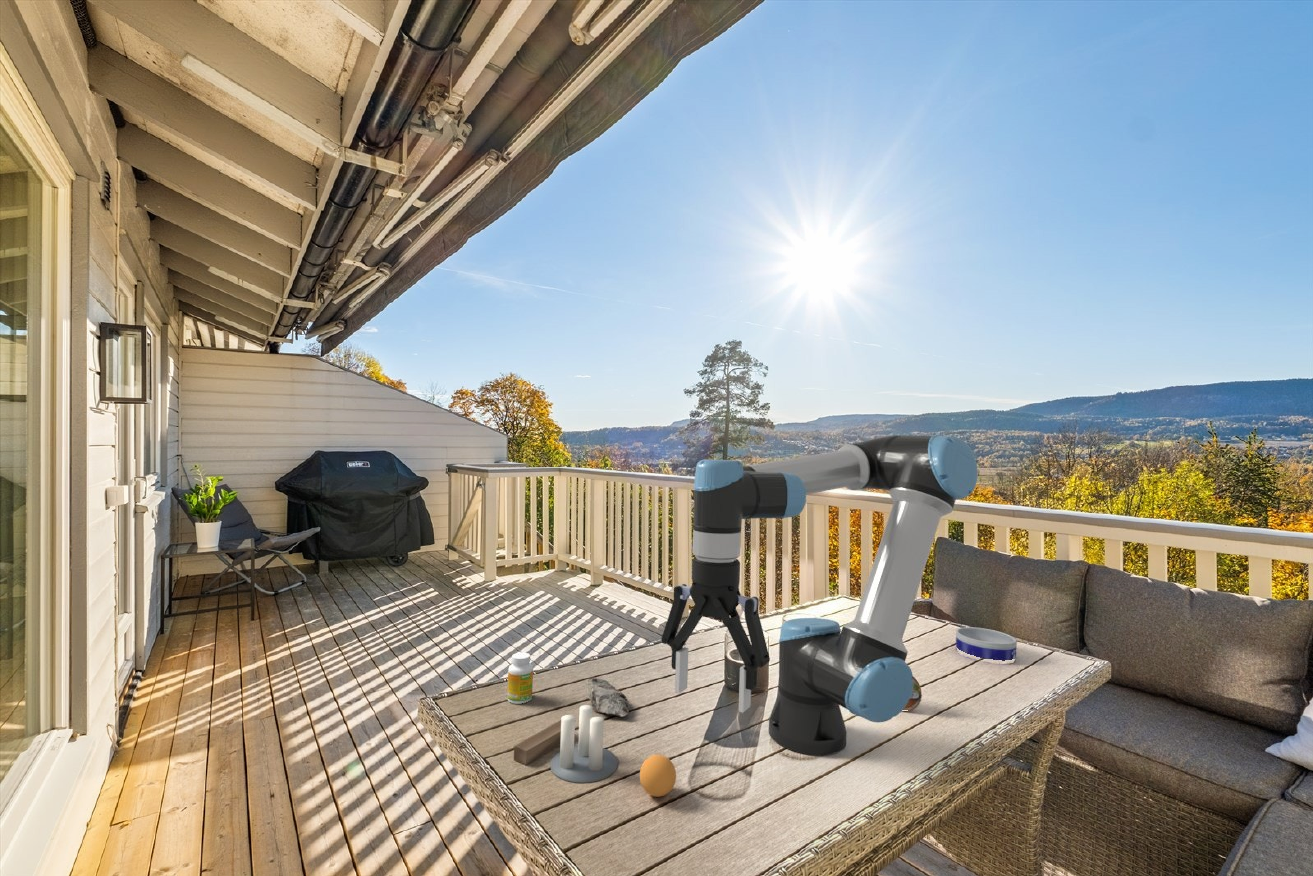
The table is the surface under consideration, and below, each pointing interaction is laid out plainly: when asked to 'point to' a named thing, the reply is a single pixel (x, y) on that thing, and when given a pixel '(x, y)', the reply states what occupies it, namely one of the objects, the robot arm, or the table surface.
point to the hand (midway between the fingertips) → (711, 699)
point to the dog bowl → (986, 643)
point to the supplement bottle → (520, 679)
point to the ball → (657, 775)
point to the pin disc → (584, 768)
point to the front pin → (596, 743)
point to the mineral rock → (606, 698)
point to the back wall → (538, 744)
